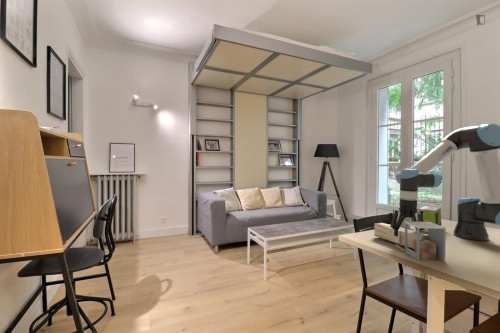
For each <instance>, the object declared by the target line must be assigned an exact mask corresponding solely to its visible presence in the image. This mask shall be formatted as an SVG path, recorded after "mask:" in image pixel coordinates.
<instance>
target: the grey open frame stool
mask: <svg viewBox="0 0 500 333" xmlns="http://www.w3.org/2000/svg"><path fill="white" fill-rule="evenodd" d="M407 224H409V225H410V226H411V227H414V228H415V227H416V228H417V253H415V252H414V249H413V248H410V247H407ZM420 228H428V232H427V235H428V240H429V241H431V242H433V243H435V244H436V259H438V260H440V261H442V262H446V233H447V232H446V231H447V230H446V228H447V227H445V226H443V225H442V226H440V225H437V224H434V223H431V222H412V221H410V222H407V221H405V246H404V245H401V244H398V243H394V246H395V247H396V248H397V249H399V250H400V251H402V252H404V253H406V254H407V255H408V256H410V257H411V258H413V259H414V260H416V261H419V262H420V261H421V260H420V259H421V258H420V233H421V232H420Z"/></svg>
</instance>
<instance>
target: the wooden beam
mask: <svg viewBox="0 0 500 333" xmlns="http://www.w3.org/2000/svg"><path fill="white" fill-rule="evenodd" d="M390 225H391V224H389V223H388V224H387V223H383V222H378V223H377V222H376V223H374V237H377V238H380V239H383V240H386V241H389V242H392V243H394V244H401V245H404V246H405V229H404V228H399V230H400V243H397V242H396V241H395V238H396V236H395V235H394V229H393V228H391V227H390ZM414 239H416V240H417V232H416V231H414V230H413V229H412V230H411V229H407V247H410V248H413V249H414ZM420 240H428V233H424V232H420Z"/></svg>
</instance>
